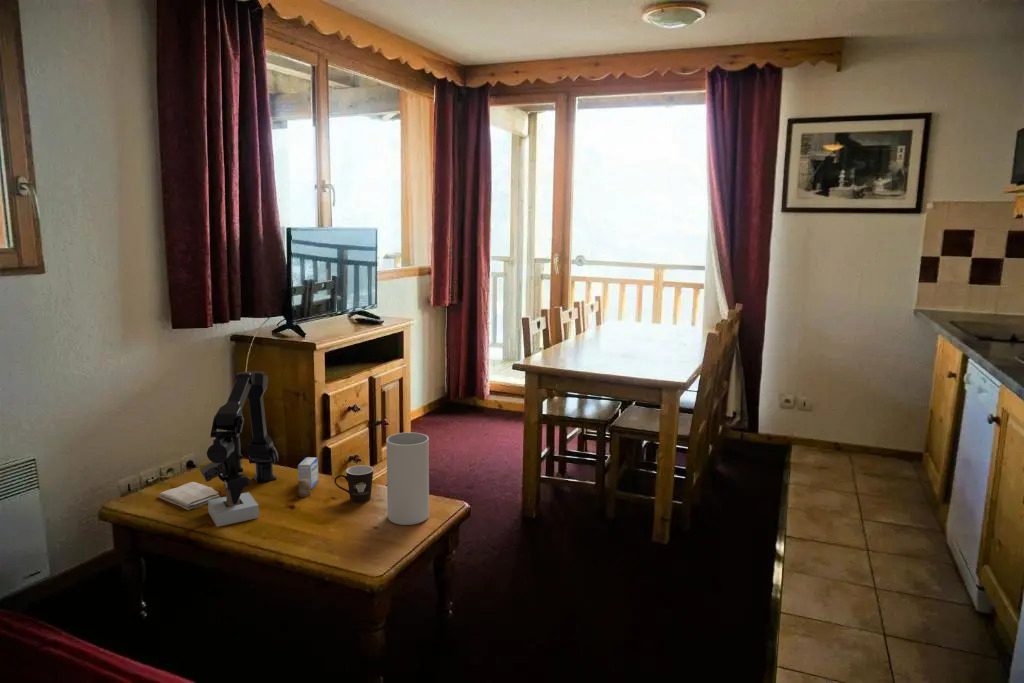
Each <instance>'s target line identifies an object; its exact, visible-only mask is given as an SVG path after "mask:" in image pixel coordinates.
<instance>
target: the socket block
mask: <svg viewBox="0 0 1024 683" xmlns="http://www.w3.org/2000/svg"><path fill="white" fill-rule="evenodd" d="M239 502H240V505H235V506H230V507H227V499H226V496H223V497H221V498H217V499H212V500H208V504H207V507H208V514H209V516H210V517H211V519H212V521H213V522H214V524H215V526H216V527H217V528H219V527H223V526H226V525H227V526H228V525H231V524H235V523H236V524H237V523H241V522H245V521H250V520H254V519H259V518H260V509H259V508H260V507H259V506H260V504H258V502H257V501H256V500H255V498H254V497H253V496H252V494H251V493H250V492H249V491H247V492H242V493H241V495H240V497H239Z"/></svg>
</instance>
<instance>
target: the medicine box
mask: <svg viewBox="0 0 1024 683" xmlns="http://www.w3.org/2000/svg"><path fill="white" fill-rule="evenodd" d="M318 462H319V460H318V457H315V456H314V457H310V456H308V457H304V459H303V460H302V461H301V462H300V463H299V464H298V465H297V472H298V475H297V477H298V481H299V480H301V479H309V480H310V490H312V489H313V488H314V486H316V484H317V483H318V482H319V465H318V464H319V463H318Z"/></svg>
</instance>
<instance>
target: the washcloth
mask: <svg viewBox="0 0 1024 683" xmlns="http://www.w3.org/2000/svg"><path fill="white" fill-rule="evenodd" d="M158 498H159V499H162V500H163V501H166V502H168V503H171V504H174V505H176V506H179V507H181V508H183V509H185V510H187V511H190V510H193V508H194V509H197V508H200V507H203V506H205V505H208V500H212V499H217V498H222V497H221V496H220V495H219V491H217V490H215V489H213V487H212V486H211V487H209V486H207V485H205V484H202V483H199V482H196V481H191V482H190V481H189V482H188V483H184V484H182V485H180V486H177V487H173V488H170V489H166V490H164V491H162V492H160V493H159V494H158Z"/></svg>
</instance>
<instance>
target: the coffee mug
mask: <svg viewBox="0 0 1024 683" xmlns="http://www.w3.org/2000/svg"><path fill="white" fill-rule="evenodd" d="M345 473H346V475H345V474H338V475H337V476H336V477H335V478H334V485H335V486H336V487H338V489H341V490H343V491H344V492H346V493H348V494H349V499H350V502H351V503H354V504H365V503H368V502H370V501H371V498H372V497H371V496H372V488H373V487H372V486H373V477H374V476H373V475H374V468H373V467H372V466H370V465H363V464H362V465H361V464H360V465H354V466H350V467H348V468H347V469H346V471H345ZM339 478H344V479H345V481H346V482H347V485H348V486H347V487H348V489H347V488H345V487H342V486H340V485H339V484H338V483H337V480H338V479H339Z"/></svg>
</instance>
